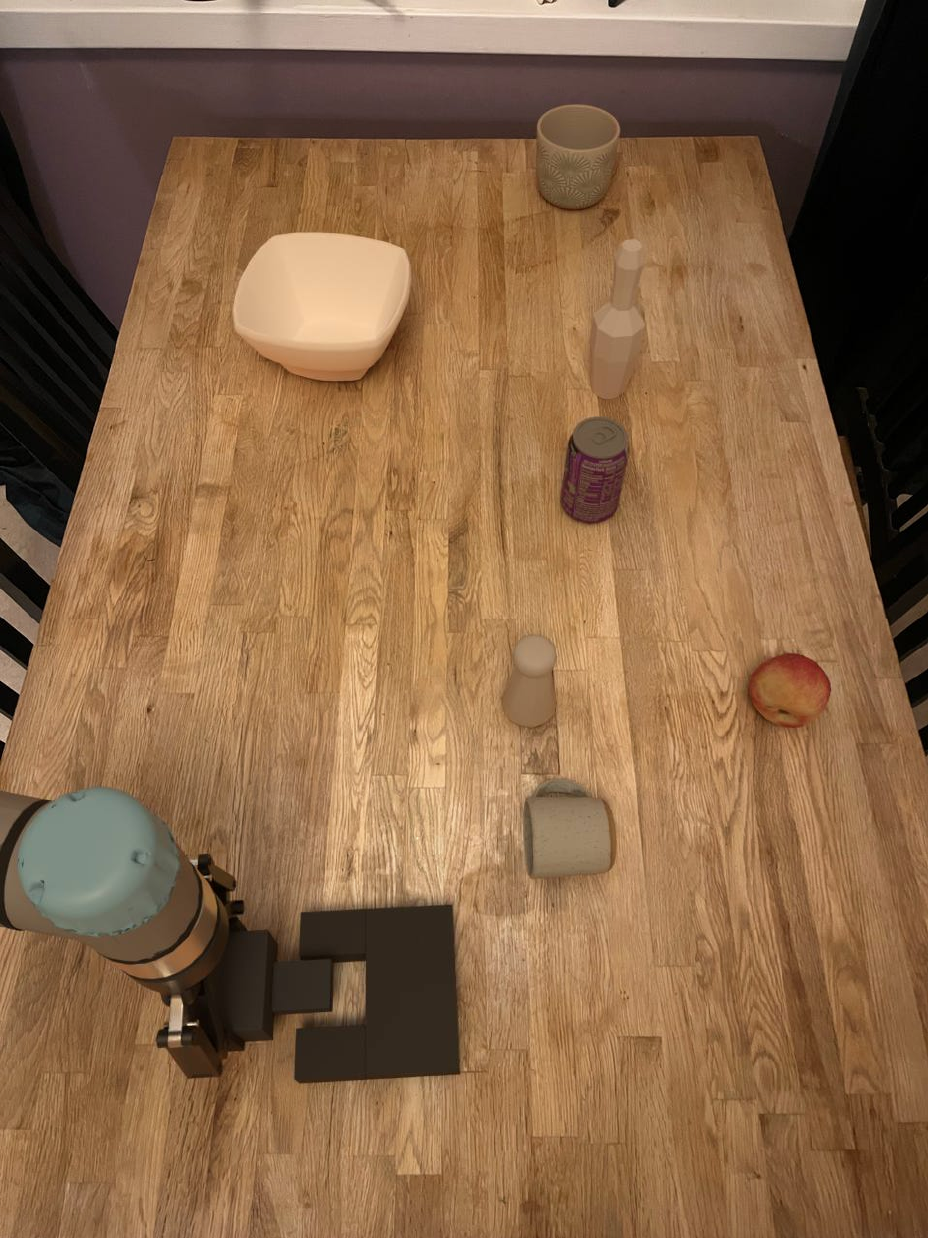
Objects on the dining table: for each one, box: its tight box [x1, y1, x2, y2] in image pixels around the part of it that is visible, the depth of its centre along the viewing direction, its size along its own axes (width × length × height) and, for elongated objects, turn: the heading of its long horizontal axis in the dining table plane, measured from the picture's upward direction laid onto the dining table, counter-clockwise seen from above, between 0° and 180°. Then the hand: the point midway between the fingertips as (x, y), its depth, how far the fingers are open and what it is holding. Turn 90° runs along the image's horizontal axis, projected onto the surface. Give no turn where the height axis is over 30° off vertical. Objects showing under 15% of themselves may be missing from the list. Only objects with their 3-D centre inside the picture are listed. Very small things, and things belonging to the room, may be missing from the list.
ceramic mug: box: [522, 778, 617, 880], centre depth 92 cm, size 11×8×8 cm
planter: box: [535, 103, 621, 210], centre depth 147 cm, size 12×12×11 cm
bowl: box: [231, 232, 412, 382], centre depth 127 cm, size 22×22×12 cm
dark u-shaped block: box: [293, 903, 461, 1085], centre depth 86 cm, size 14×14×3 cm
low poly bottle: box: [588, 238, 646, 400], centre depth 119 cm, size 6×6×22 cm
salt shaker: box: [500, 633, 558, 729], centre depth 97 cm, size 6×6×13 cm
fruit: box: [748, 652, 832, 729], centre depth 99 cm, size 8×8×8 cm
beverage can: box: [559, 416, 630, 524], centre depth 113 cm, size 7×7×12 cm
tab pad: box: [213, 929, 335, 1043], centre depth 81 cm, size 12×8×5 cm, turn 93°
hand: (232, 992), depth 83 cm, fingers closed on tab pad, 8 cm apart
